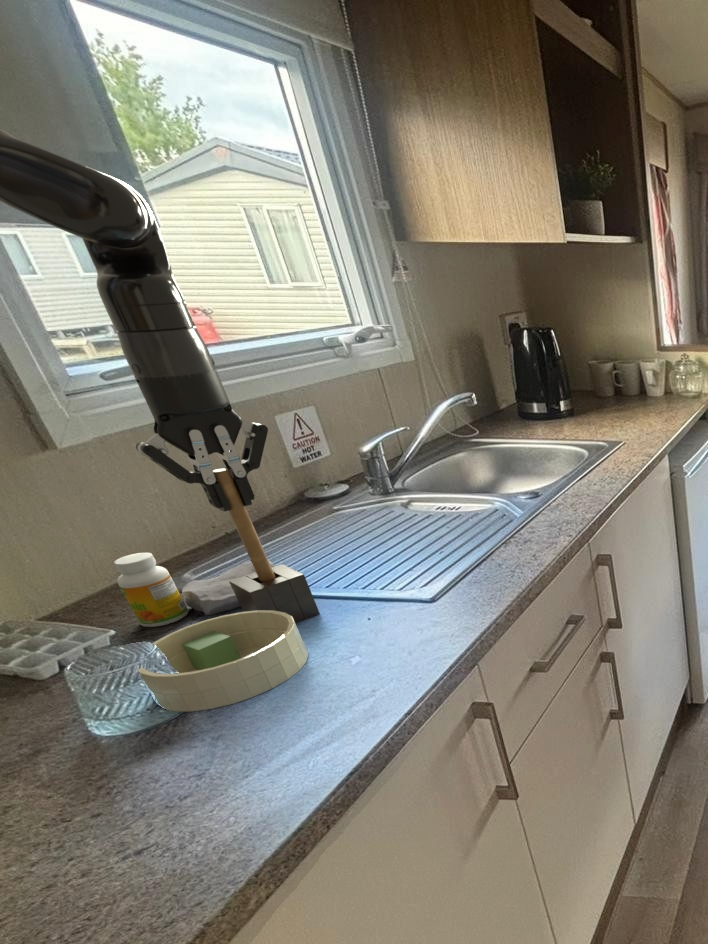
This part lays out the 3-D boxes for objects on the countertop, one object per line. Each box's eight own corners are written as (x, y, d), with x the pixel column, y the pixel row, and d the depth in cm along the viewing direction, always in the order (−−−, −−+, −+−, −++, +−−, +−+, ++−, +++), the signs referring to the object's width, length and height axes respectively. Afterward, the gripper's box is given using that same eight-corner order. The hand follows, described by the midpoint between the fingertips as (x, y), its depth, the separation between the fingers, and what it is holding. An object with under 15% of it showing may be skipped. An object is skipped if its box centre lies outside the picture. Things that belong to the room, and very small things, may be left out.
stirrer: (263, 583, 90) (214, 473, 83) (257, 580, 91) (208, 470, 84) (278, 578, 92) (230, 469, 84) (272, 575, 92) (224, 467, 85)
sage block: (211, 674, 81) (198, 650, 80) (194, 668, 83) (181, 644, 81) (242, 660, 84) (230, 636, 83) (225, 654, 86) (213, 630, 84)
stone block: (306, 599, 104) (271, 574, 108) (297, 574, 101) (261, 550, 105) (219, 635, 95) (184, 607, 99) (206, 608, 93) (171, 580, 96)
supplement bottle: (131, 625, 94) (96, 563, 89) (173, 607, 98) (141, 548, 94) (157, 630, 92) (123, 568, 88) (198, 612, 97) (167, 552, 92)
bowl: (186, 732, 73) (162, 691, 70) (137, 689, 80) (114, 651, 77) (332, 666, 84) (317, 629, 81) (277, 634, 91) (262, 600, 88)
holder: (270, 637, 90) (249, 592, 87) (249, 625, 94) (228, 581, 90) (321, 617, 95) (304, 574, 92) (300, 606, 99) (282, 563, 95)
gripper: (229, 359, 85) (281, 488, 93) (87, 375, 75) (159, 518, 83) (255, 364, 81) (306, 497, 90) (109, 381, 71) (182, 529, 79)
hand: (235, 506), depth 86 cm, fingers closed on stirrer, 2 cm apart
